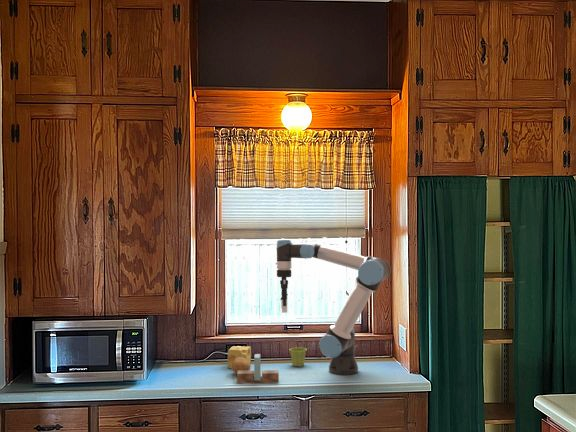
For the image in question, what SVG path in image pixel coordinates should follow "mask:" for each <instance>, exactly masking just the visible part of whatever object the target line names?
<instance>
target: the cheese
mask: <svg viewBox="0 0 576 432" xmlns="http://www.w3.org/2000/svg"><path fill="white" fill-rule="evenodd" d="M237 357H243V358H245V359H246V360H248V361H249V363H250V364H251V362H252V361H251V360H252V348H251V346H250V345H249V346H235V345H233V346H231V347H230V348H229V349H228V350H227V367H228V369H232V364H233V361H234V360H235V359H236V358H237Z"/></svg>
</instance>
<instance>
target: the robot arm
mask: <svg viewBox="0 0 576 432" xmlns="http://www.w3.org/2000/svg"><path fill="white" fill-rule="evenodd" d="M312 258H314V259H318V260H322V261H326V262H329V263H332V264H335V265H339V266H342V267H346V268H349V269H352V270H355V271H358V272H357V276H356V278H355V283H356V284H355V286H354V288H353V290H352V291H351V293H350V295H349V297H348V299H347V301H346V303H345V305H344V307H343V308H342V310H341V312H340V314H339V316H338V318H337V320H336V321H335V323H334V324H331V325H330V326H329V328H328V329H327V331H326V333H325V334H324V335H323V336H321V338H320V340H319V341H318V347H319V349H320V350H319V351H320V352H321V353H322V354H323V355H324V356H325V357H326V358H331V359H330V362H329V365H328V372H329V373H331V374H333V375H341V376H342V375H346V376H347V375H354V374H357V373H358V372H359V364H358V362H357V360H356V357H355V356H356V355H355V353H356V351H355V349H356V348H355V347H356V339H355V338H356V333H355V328H354V326H355V324H356V323H357V321H358V319H359V317H360V315H361V314H362V312H363V310H364V309H365V306H367V303H368V301H369V300H370V298H371V295H372V293H374V292H377V291H378V289H379V288H380V286H381V284H382V282H384V281H387V280H388V278H389V277H390V275H391V271H392V269H391V265H390V263H389V261H387V260H386V259H384V258H381V257H375V256H371V255H368V256H363V255H361V254H356V253H353V252H348V251H346V250H341V249H339V248H334V247H330V246H327V245H323V244H320V243H319V242H317V241H311V242H302V243H294V242H292V240H291V239H290V238H289V239H288V238H280V239H277V241H276V262H275V265H276V277H278V278H280V279H281V280H280V281H279V282H280V289H281V297H280V301H281V302H280V303H281V306H280V307H281V313H288V289H289V287H288V285H289V281H288V279H287V278H291V277H292V259H306V260H307V259H312Z"/></svg>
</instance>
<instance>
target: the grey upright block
mask: <svg viewBox="0 0 576 432" xmlns="http://www.w3.org/2000/svg"><path fill="white" fill-rule="evenodd" d="M253 356H254V359H253V369H254V370H253V371H254V380H260V377H262V369H261V364H262V363H261V353H255V354H254V355H253Z"/></svg>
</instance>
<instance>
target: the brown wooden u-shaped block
mask: <svg viewBox="0 0 576 432" xmlns="http://www.w3.org/2000/svg"><path fill="white" fill-rule="evenodd" d="M279 373H280V371H279V370H278V369H276V370H270V369H268V370H266V369H265V370H264V369H263V370H262V369H261V377H260V380H254V370H249V371H238V372H237V374H236V380H237V381H236V383H237V384H249V383H250V384H254V383H255V384H261V383H262V384H265V383H266V384H267V383H271V384H273V383H272V382H279V381H280V379H279Z"/></svg>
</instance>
